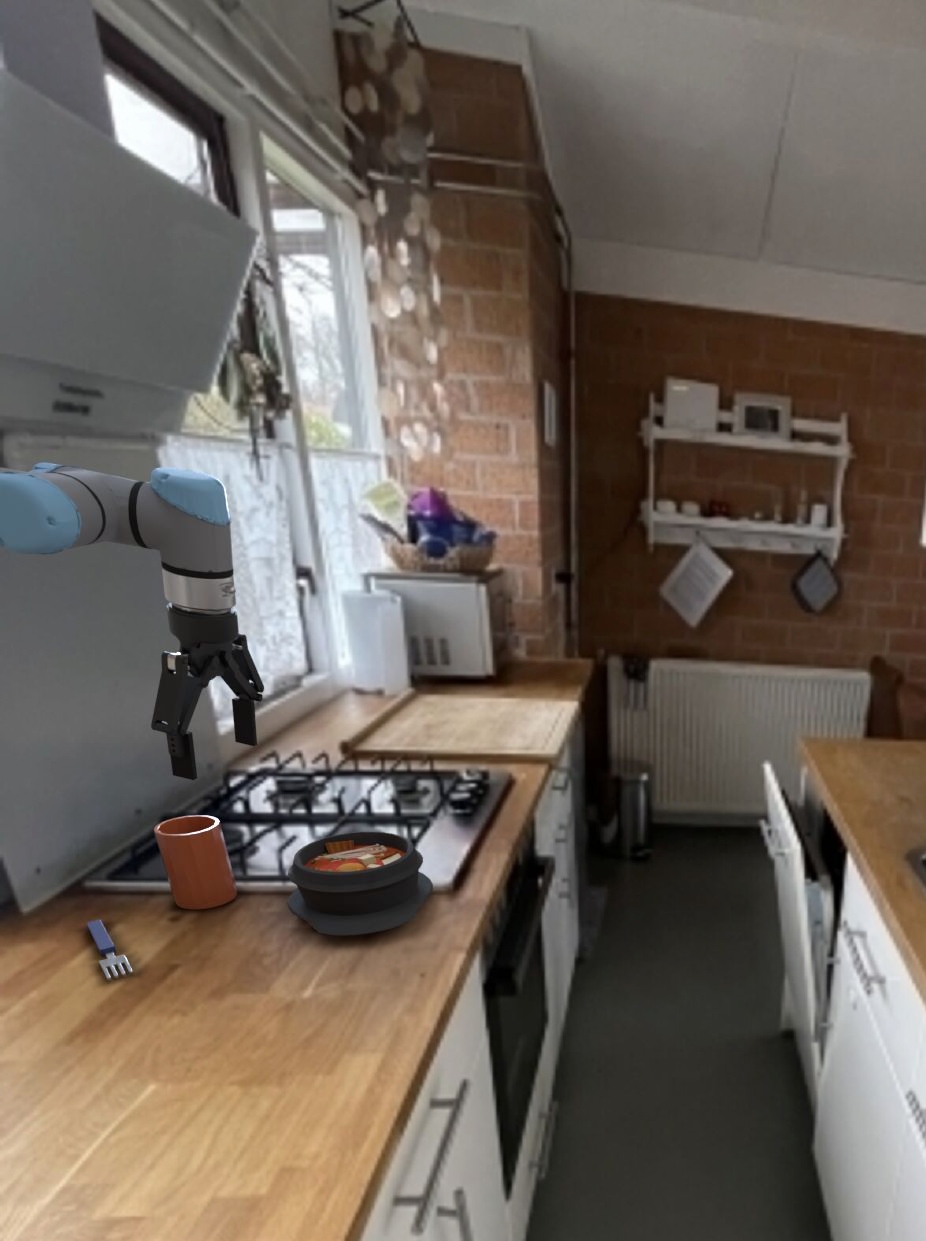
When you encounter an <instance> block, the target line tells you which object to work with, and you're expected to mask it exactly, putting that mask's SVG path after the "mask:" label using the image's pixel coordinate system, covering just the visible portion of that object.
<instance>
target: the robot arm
mask: <svg viewBox="0 0 926 1241" xmlns="http://www.w3.org/2000/svg"><path fill="white" fill-rule="evenodd" d="M231 524H232V518H231V516H230V511H229V503H228V496H227V490H226V487H225V484H223V482H222V481H221V480H220V479H218V478H216V477H215V476H213V475H210V474H208V473H204V472H201V471H195V470H193V469H192V470H191V469H181V468H177V467H167V466H166V467H165V466H163V467H157V468H154V469H153V470H152V471H151V472H150V480H149V481H142V480H135V479H131V478H127V477H126V478H125V477H121V476H118V475H112V474H108V473H102V472H98V471H93V470H90V469H84V468H81V467H79V466H76V465H71V464H67V465H64V464H57V463H51V462H38V463H36V464H34V465H33V466H32V468H31V470H29V471H24V470H17V469H13V468H6V467H1V466H0V547H3V548H4V549H6V550H9V551H11V552H14V553H18V554H24V555H53V554H54V555H55V554H58V553H60V552H63V551H65V550H69V549H74V548H78V547H85V546H89V545H95V544H100V543H105V542H106V543H115V544H120V545H127V546H131V547H132V546H133V547H139V548H143V549H148V550H156V551H158V552H159V555H160V564H161V574H162V581H163V582H162V583H163V593H164V598H165V599H166V600H167V601H168V602H169V603H168V604H167V605H166V613H167V621H168V622H167V624H168V629H169V632H170V634H172V635H173V636H174V637H175V638H176V639H177V640H178V641H179V650H178V652H176V653H175V652H169V651H162V653H161V657H160V661H161V672H160V678H159V683H158V687H157V694H156V698H155V703H154V709H153V713H152V718H151V724H150V727H151V729H152V730H153V731H157V732H160V733H165V735H166V741H167V747H168V748H167V750H168V754H169V755H170V764H171V772H172V776H175V777H179V778H183V779H187V780H191V781H195V780H197V779H198V771H197V762H196V754H195V745H194V737H193V736H194V735H193V732H192V731H189V727H190V723H191V721H192V718H193V715H194V713H195V710H196V707H197V705H198V702H199V699H200V697H201V695H202V692H203V689H206V688H207V687H209V684H210V682H211V681H213V680H214V679H216V678H217V677H220V679H222V680H223V682H224V683H225V684H226V686H227V687H228V688H229V689H230V690H231V692H232V693H233V694H234V695H235V696H236V697H233V698H231V706H232V719H233V729H234V741H235V743H237V744H243V745H247V746H251V747H256V746H258V737H257V735H258V734H257V724H256V723H257V722H256V707H255V702H259V703H261V702H262V701H263V698H264V695H263V693H264V691H265V685H264V683H263V681H262V680H263V679H262V678H261V676H260V674H259V671H258V669H257V666H256V664H255V661H254V659H253V657H252V655H251V652H250V649H249V646H248V638H247V635H246V634H244V633H241V632H239V618H238V611H237V610H236V609H235V608H234V607H235V606H236V605H237V598H236V593H237V589H236V587H235V579H234V578H235V577H234V560H233V544H232V528H231V526H232V525H231ZM189 674H190V675H189Z"/></svg>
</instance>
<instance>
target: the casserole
mask: <svg viewBox="0 0 926 1241" xmlns="http://www.w3.org/2000/svg"><path fill="white" fill-rule="evenodd" d="M423 863H424V856H423V855H422V853H421V852H420V851H418V850H417V849H416V848H415V846H414V844H413V843H412V840H410V839H408V838H407V837H404V836H402V835H399V834H395V833H393V832H392V833H391V832H384V831H355V832H353V831H352V832H347V833H339V834H334V835H329V836H326V837H323V838H320V839H316V840H314V841H312V842H309V843H308V844H306V845H304V846H303V847H301V848H300V849H299V850H297V852H296V853H295V854H294V857H293V860H292V865H291V866H289V868H288V871H287V876H288V879H289V880H290V881H291V882H292V883H293V884H294V885H295V886H297V888H295V889H294V890H293V891H292V892H291V894H290V896H289V897H288V900H287V902H286V903H287V907H288V910H289V911H290V912H291V913H292V914H293V916H294V915H295V916H296V917H298V918H299V919H302V920H304V921H305V922H307V923H308V924H309V925H310V926H311V927H312V928H313V929H314V930H315V931H316V932H317V933H320V934H324V935H327V936H359V935H367V934H368V935H369V934H373V933H377V932H383V931H387V930H390V929H394V928H398V927H400V926H402V925H403V926H404V925H405V924H408V923H409V922H411V921H412V920H414V919H415V917H416V915H417V914H418V912H419V910H420V908H421V906H422V905H423V904H424V903H425V901H426V900H427V899H428V898H429V897H430V896H431V895H432V892H433V890H434V885H433V884H434V883H433V881H432V880H431V878H429V877H428V876H427V875H426V874H425V873H423V872H420V869H421V867H422V865H423Z"/></svg>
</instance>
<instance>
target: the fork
mask: <svg viewBox="0 0 926 1241" xmlns="http://www.w3.org/2000/svg"><path fill="white" fill-rule="evenodd" d="M86 927H87V929H88V931H89V933H90V935H91V937H92V939H93V941H94V943H95V946H96V947H97V949H98V951H99V954H100V955H101V957H105V959H101V960H98V964H99V966H100V968H101V970H102V972H103V974H104V976H105V978H106V980H107V981H108V982H111V981H112V977H111V974H110V973H109V971H108V970H110V971H111V973H112V975H113V977H114V979H115V980H118V979H120V976H119V974H118V972H117V970H116V968H117V969H118V970H119V972H120V974H121V976H122V978H126V977H128V976H127V973H126V971H125V969H124V967H123V966H125V968H126V970H127V971H128V973H129V975H130V976H133V975H134V974H135V973H134V970H133V969H132V966H131V965H130V962H129V961H128V959H127V957H126V955H125V954H120V955H117V956H116V955H115V954H116V953H117V950H116V947H115V944H114V942H113V941H112V939H111V937H110V935H109V933H108V931H107V929H106V927H105V926H104V924H103V922H102V920H101V919H96V920H92V921H88V922H86Z"/></svg>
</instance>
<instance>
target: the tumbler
mask: <svg viewBox="0 0 926 1241" xmlns="http://www.w3.org/2000/svg"><path fill="white" fill-rule="evenodd" d="M153 832H154V836H155V840H156V842H157V846H158V849H159V853H160V857H161V860H162V863H163V867H164V870H165V873H166V878H167V880H168V883H169V887H170V891H171V893H172V897H173V899H174V902H175V905H176V906H177V907H179V908H182V909H184V910H194V911H195V910H206V909H211V908H217V907H220V906H223V905H225V904H227V903H229V902H232V901H233V900H235V898H236V897H237V896H238V889H237V884H236V879H235V876H234V872H233V868H232V864H231V860H230V855H229V851H228V848H227V844H226V840H225V835H224V832H223V829H222V824H221V821H220V820H219V818H218V817H215V816H211V815H201V814H195V815H193V814H192V815H184V816H178V817H173V818H171V819H167V820H165V821H161V822H160V823H158V824H156V825H155V827H154V828H153Z"/></svg>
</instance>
